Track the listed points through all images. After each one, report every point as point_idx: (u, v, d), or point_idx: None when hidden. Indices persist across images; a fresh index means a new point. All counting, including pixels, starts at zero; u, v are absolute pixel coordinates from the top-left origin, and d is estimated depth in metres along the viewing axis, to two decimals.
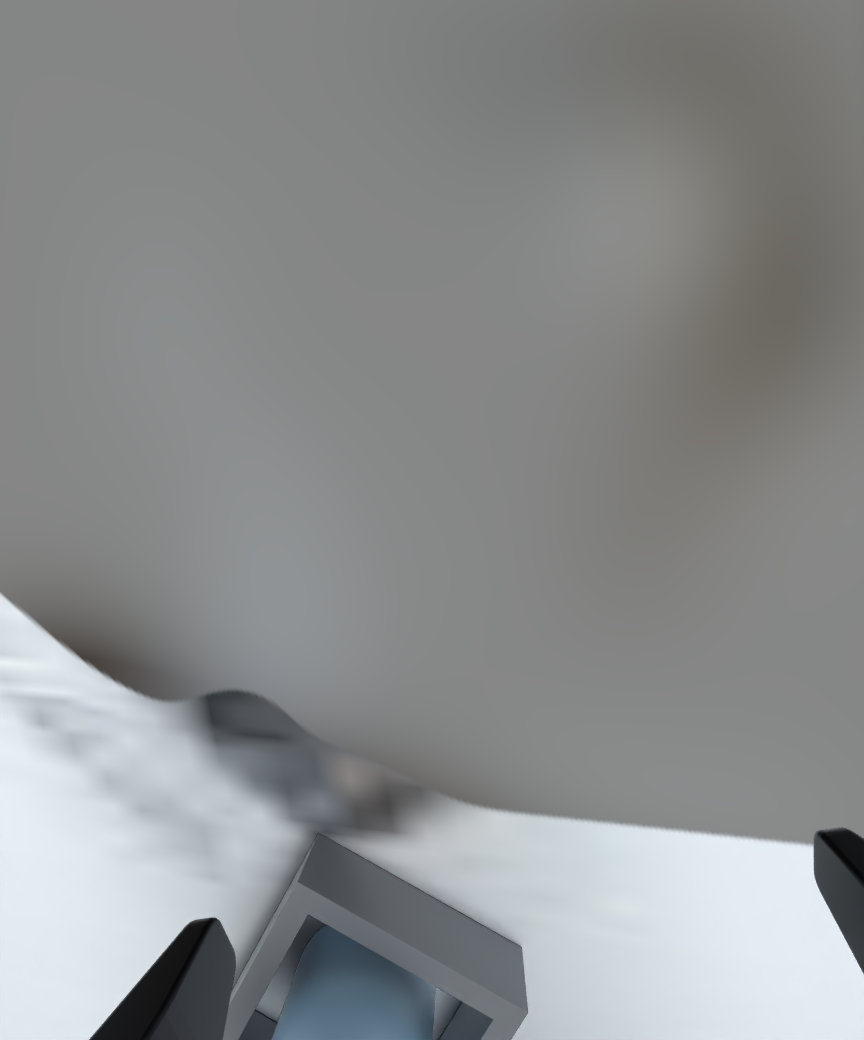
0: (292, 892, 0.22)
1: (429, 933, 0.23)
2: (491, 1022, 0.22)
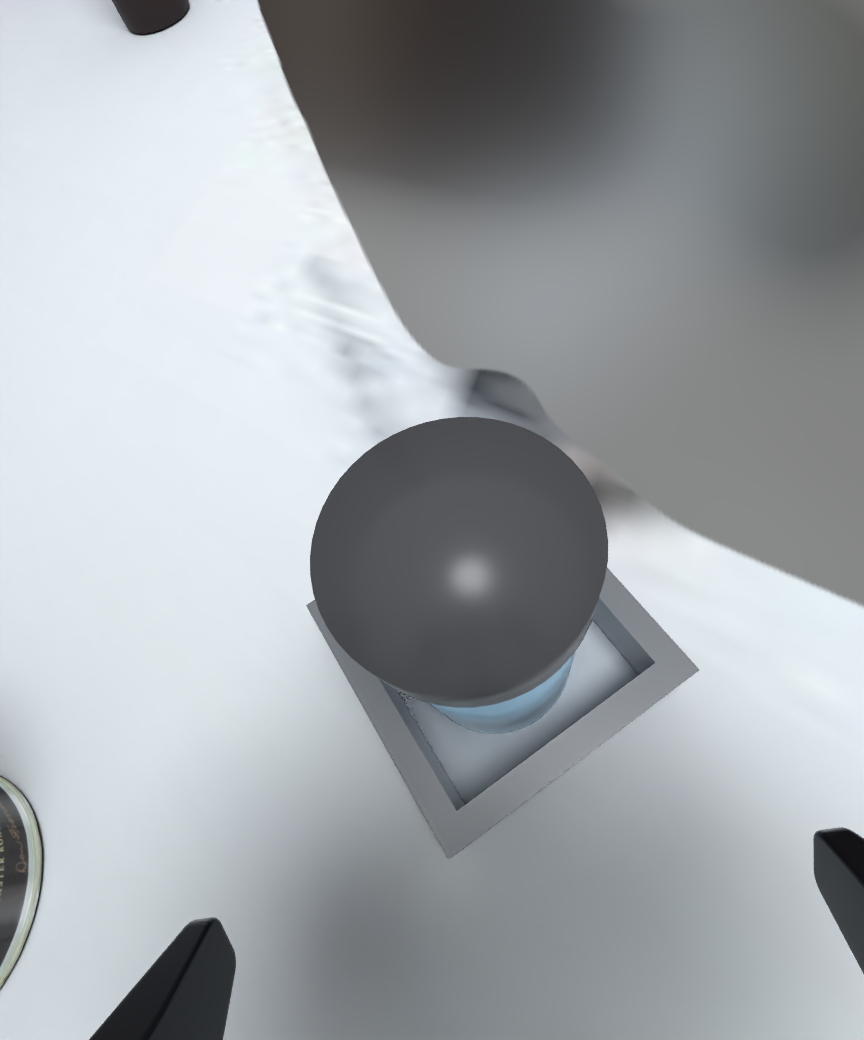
0: None
1: None
2: (651, 665, 0.19)
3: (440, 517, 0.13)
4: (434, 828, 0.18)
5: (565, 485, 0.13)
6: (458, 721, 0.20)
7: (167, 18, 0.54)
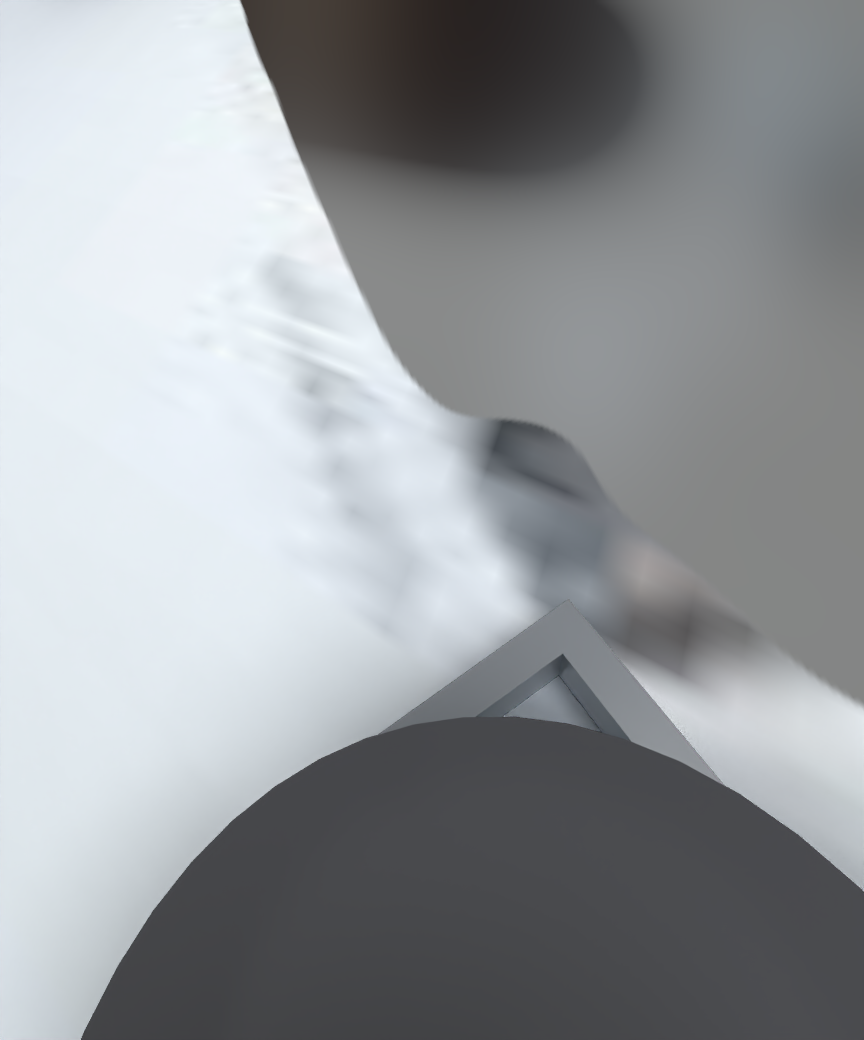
0: (553, 611, 0.14)
1: None
2: None
3: None
4: None
5: None
6: None
7: None
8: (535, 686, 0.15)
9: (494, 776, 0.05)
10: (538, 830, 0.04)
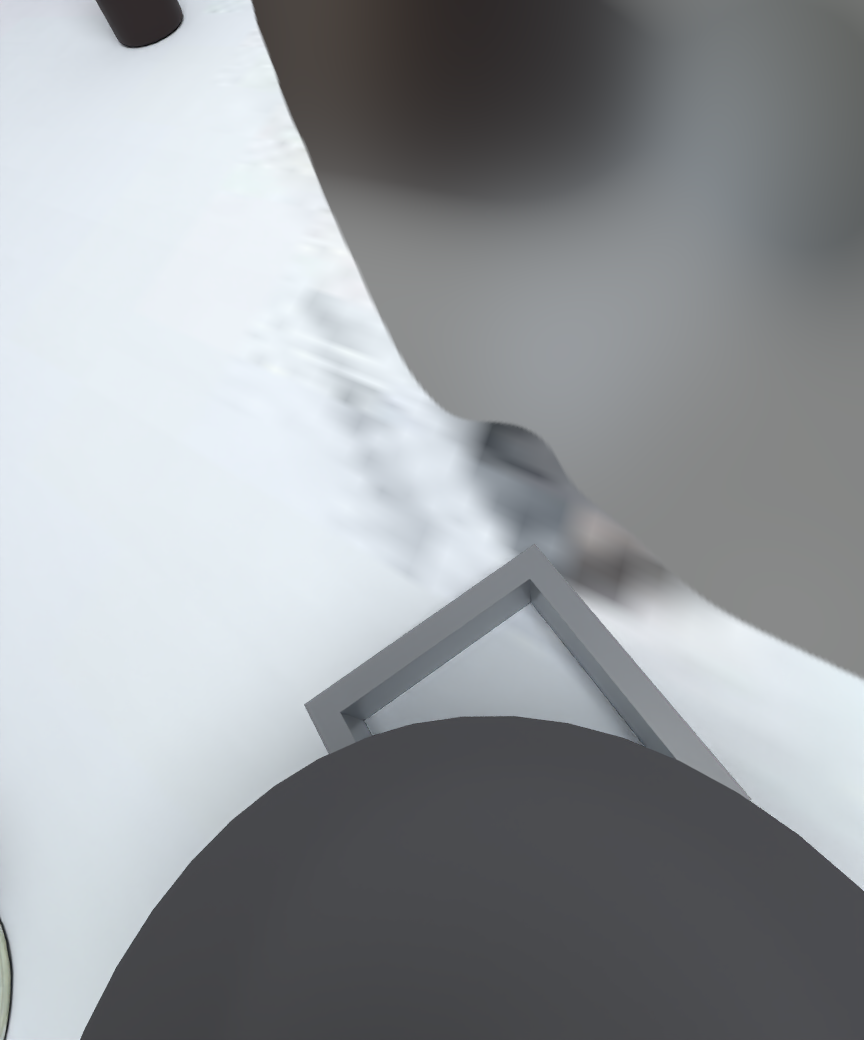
0: (524, 552, 0.21)
1: None
2: None
3: None
4: None
5: None
6: None
7: (160, 30, 0.52)
8: (513, 606, 0.22)
9: (494, 776, 0.05)
10: (538, 830, 0.04)
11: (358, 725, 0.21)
